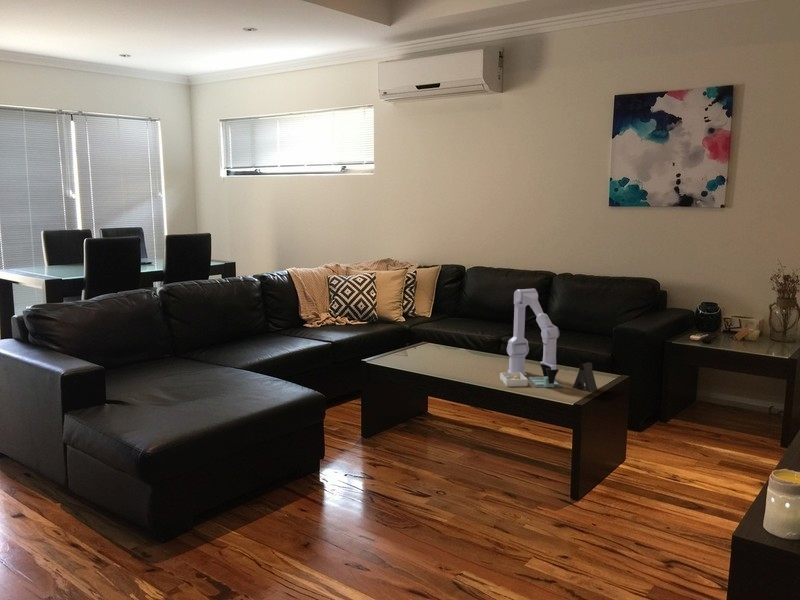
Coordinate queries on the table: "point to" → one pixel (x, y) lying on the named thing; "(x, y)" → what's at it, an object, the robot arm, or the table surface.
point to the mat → (542, 385)
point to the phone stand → (585, 378)
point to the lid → (542, 381)
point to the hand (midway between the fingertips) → (548, 381)
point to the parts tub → (513, 379)
